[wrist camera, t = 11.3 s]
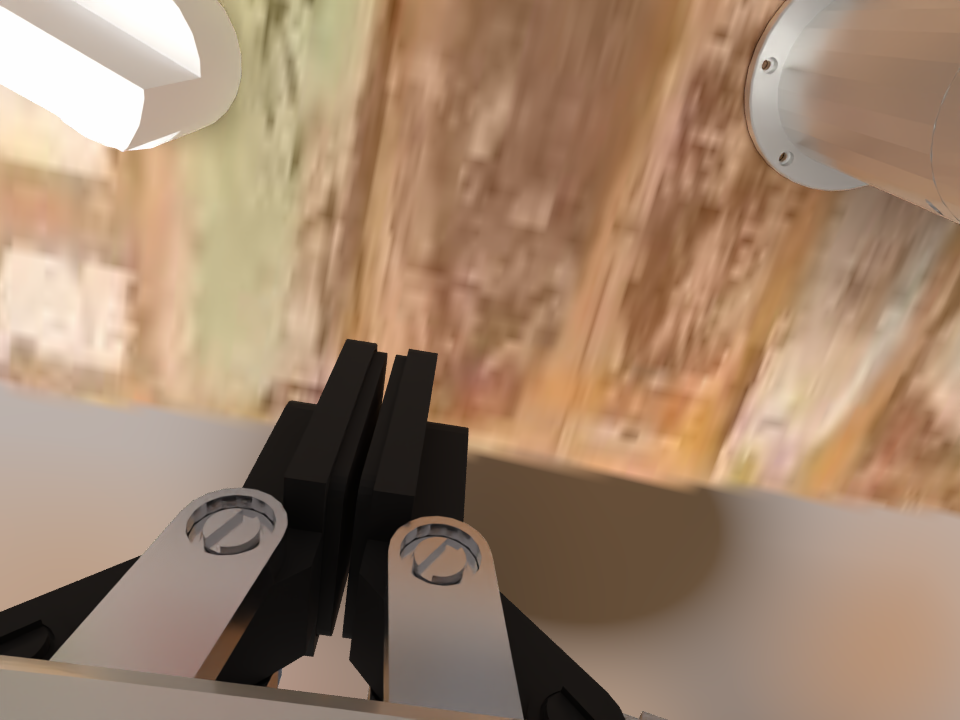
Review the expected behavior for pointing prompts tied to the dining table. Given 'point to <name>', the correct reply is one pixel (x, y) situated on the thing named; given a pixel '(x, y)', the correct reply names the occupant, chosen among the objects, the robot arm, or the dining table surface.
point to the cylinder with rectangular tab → (122, 65)
